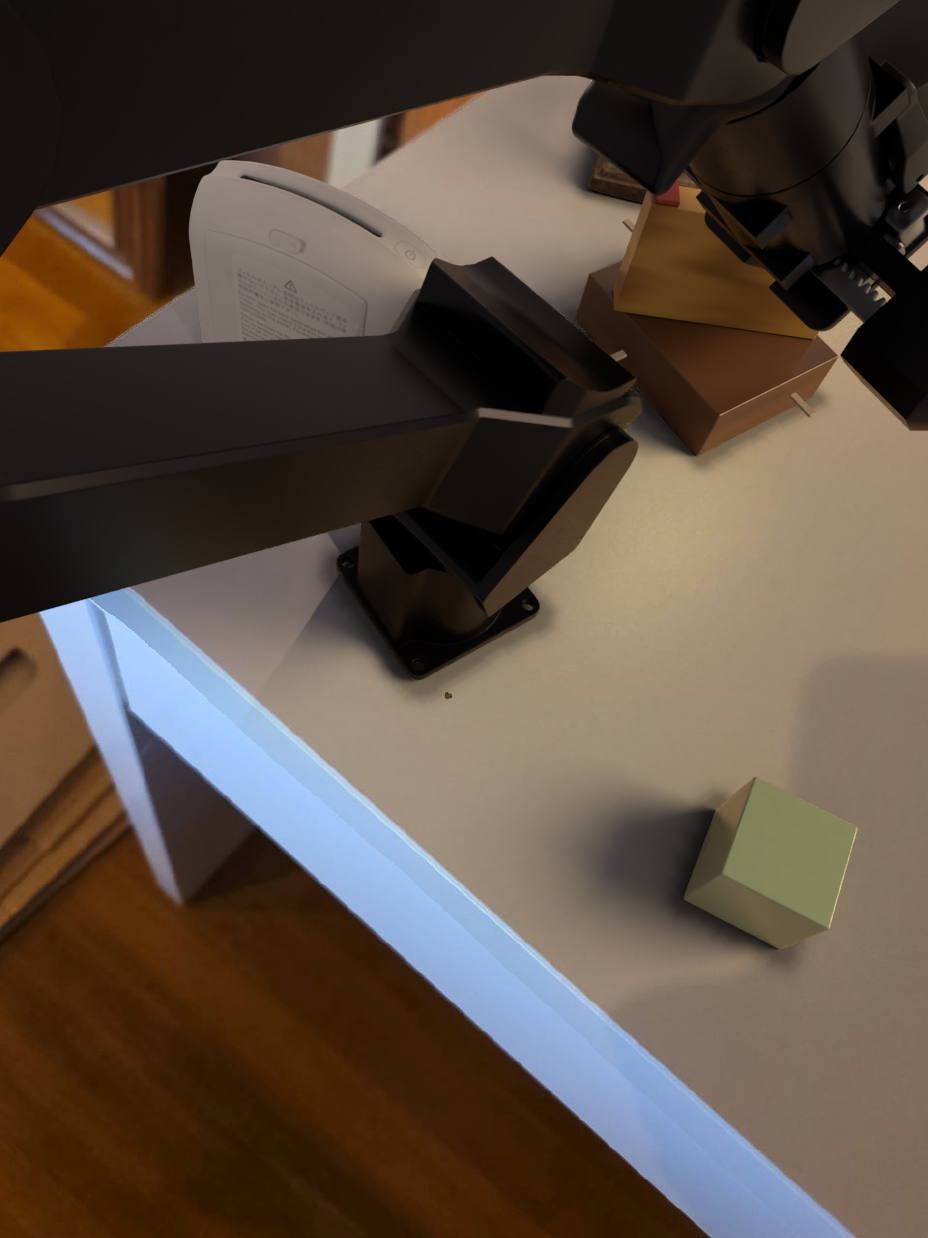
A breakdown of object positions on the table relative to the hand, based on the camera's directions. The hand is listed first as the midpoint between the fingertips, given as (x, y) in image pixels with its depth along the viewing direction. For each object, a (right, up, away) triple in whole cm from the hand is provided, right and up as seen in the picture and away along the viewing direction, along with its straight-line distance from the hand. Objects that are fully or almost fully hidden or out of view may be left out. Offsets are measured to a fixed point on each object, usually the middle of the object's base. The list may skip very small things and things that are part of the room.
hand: (843, 276), depth 44 cm
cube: (-6, -25, -6) cm, 27 cm away
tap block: (-5, -2, +7) cm, 9 cm away
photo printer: (-24, -6, +2) cm, 24 cm away
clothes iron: (-5, +13, +15) cm, 20 cm away
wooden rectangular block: (-5, 0, +4) cm, 6 cm away
